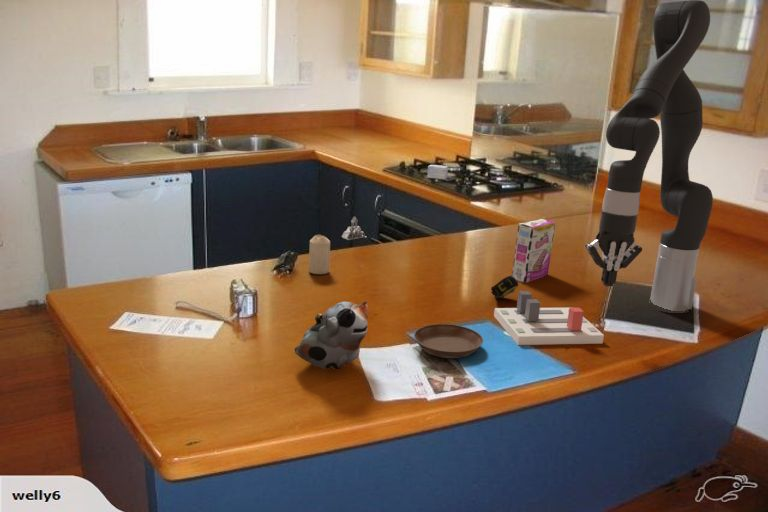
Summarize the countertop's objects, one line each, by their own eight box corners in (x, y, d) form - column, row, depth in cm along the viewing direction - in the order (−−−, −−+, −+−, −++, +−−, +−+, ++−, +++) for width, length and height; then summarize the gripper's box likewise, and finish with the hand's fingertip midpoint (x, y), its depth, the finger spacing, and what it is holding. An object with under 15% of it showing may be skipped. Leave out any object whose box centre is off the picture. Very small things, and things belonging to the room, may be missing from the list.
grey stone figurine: (356, 233, 247) (357, 210, 245) (371, 240, 240) (372, 216, 238) (332, 236, 242) (333, 212, 240) (347, 243, 235) (348, 219, 233)
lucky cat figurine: (329, 334, 164) (344, 277, 159) (373, 361, 158) (389, 303, 153) (283, 354, 152) (297, 294, 146) (328, 384, 146) (345, 322, 141)
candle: (332, 273, 206) (334, 237, 203) (314, 275, 203) (315, 239, 200) (323, 267, 210) (324, 232, 207) (305, 269, 207) (306, 234, 204)
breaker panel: (572, 315, 186) (575, 288, 184) (602, 343, 170) (607, 314, 168) (493, 315, 182) (496, 288, 180) (517, 344, 166) (521, 315, 164)
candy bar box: (525, 286, 205) (532, 227, 200) (510, 281, 208) (517, 223, 204) (549, 278, 213) (556, 221, 208) (534, 273, 216) (541, 217, 211)
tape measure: (499, 303, 194) (491, 290, 195) (522, 288, 194) (513, 276, 195) (496, 300, 188) (488, 287, 189) (519, 285, 187) (511, 272, 188)
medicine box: (446, 186, 327) (448, 166, 324) (444, 188, 323) (446, 167, 320) (428, 184, 329) (430, 164, 326) (426, 185, 325) (428, 165, 322)
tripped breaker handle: (576, 326, 172) (579, 307, 171) (581, 330, 170) (583, 311, 169) (566, 326, 172) (569, 307, 170) (570, 330, 170) (573, 311, 168)
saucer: (412, 360, 156) (413, 348, 155) (413, 332, 170) (414, 321, 169) (484, 365, 156) (485, 353, 155) (479, 337, 170) (480, 326, 169)
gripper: (640, 206, 169) (627, 280, 174) (584, 204, 167) (572, 279, 172) (656, 215, 162) (643, 291, 167) (599, 213, 160) (586, 290, 165)
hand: (607, 285), depth 169 cm, fingers closed
